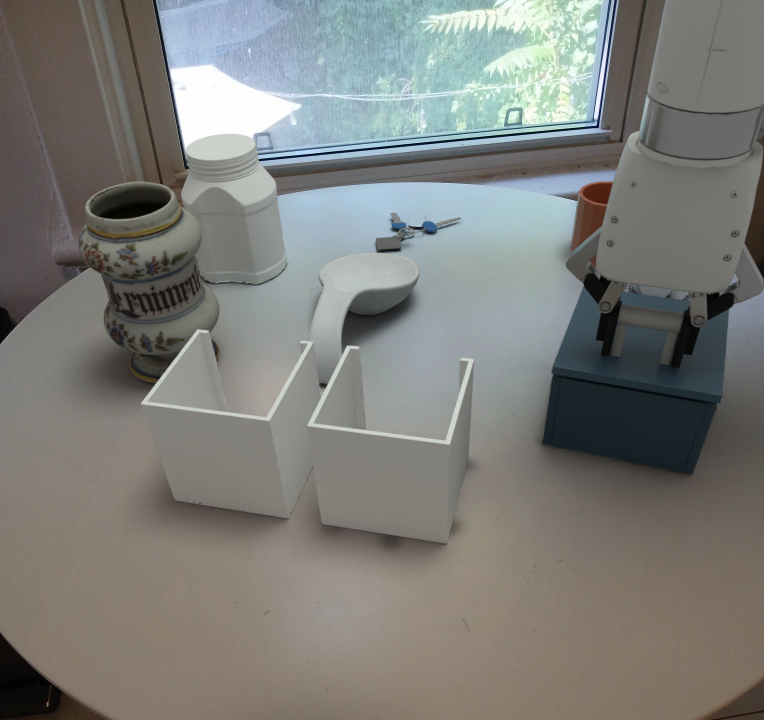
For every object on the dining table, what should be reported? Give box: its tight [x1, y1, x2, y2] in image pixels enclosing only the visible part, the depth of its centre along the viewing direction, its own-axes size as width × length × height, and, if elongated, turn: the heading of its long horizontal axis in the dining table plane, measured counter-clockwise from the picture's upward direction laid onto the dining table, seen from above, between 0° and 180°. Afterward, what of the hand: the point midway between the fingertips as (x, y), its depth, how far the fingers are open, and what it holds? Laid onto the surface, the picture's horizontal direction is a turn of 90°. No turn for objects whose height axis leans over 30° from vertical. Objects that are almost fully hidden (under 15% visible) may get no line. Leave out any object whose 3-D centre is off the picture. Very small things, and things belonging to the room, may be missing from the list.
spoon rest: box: [307, 252, 420, 385], centre depth 82 cm, size 24×12×7 cm, turn 166°
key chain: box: [375, 212, 462, 251], centre depth 101 cm, size 14×8×1 cm, turn 131°
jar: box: [180, 133, 288, 286], centre depth 91 cm, size 12×10×15 cm
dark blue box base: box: [541, 374, 719, 475], centre depth 69 cm, size 15×14×8 cm
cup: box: [569, 180, 614, 268], centre depth 91 cm, size 7×7×8 cm
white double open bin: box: [140, 329, 475, 545], centre depth 63 cm, size 25×11×11 cm, turn 76°
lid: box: [551, 285, 730, 404], centre depth 64 cm, size 15×14×5 cm
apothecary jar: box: [77, 181, 220, 385], centre depth 75 cm, size 12×12×18 cm
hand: (641, 351), depth 62 cm, fingers closed on lid, 5 cm apart
